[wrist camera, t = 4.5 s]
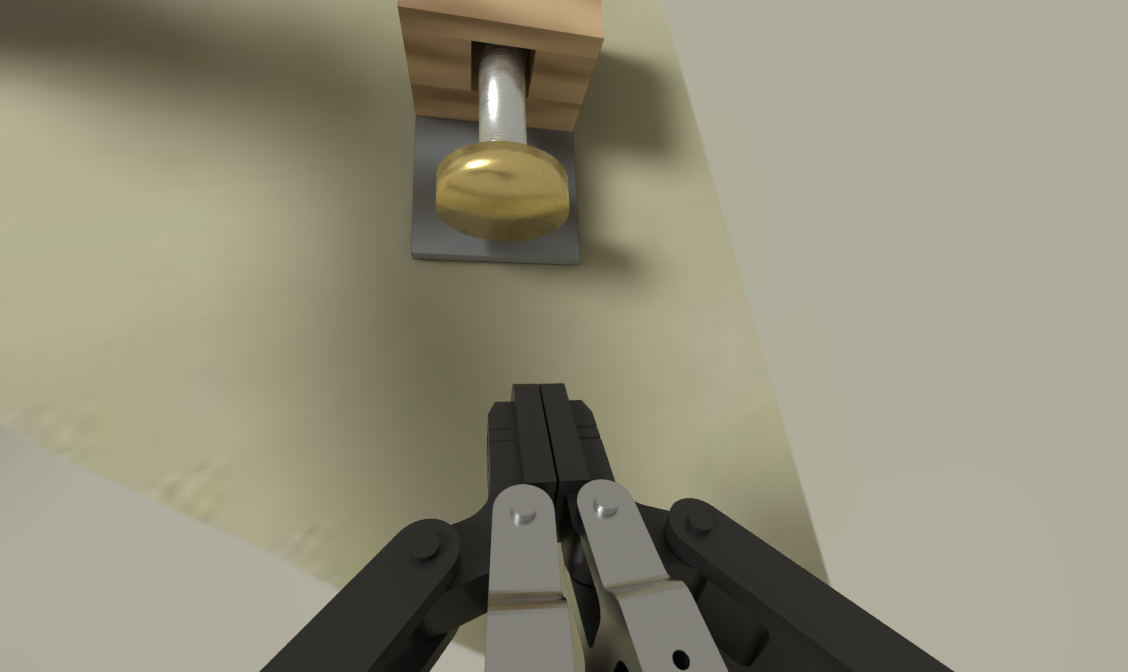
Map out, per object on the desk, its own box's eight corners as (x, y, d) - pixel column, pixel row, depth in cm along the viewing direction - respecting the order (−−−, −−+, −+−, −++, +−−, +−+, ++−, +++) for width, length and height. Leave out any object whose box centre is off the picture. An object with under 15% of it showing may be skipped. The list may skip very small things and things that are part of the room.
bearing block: (576, 265, 33) (616, 200, 24) (412, 258, 31) (388, 183, 22) (564, 40, 38) (594, -85, 29) (421, 18, 35) (404, -127, 26)
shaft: (555, 244, 31) (583, 180, 23) (440, 238, 29) (429, 168, 22) (547, 55, 35) (569, -53, 27) (444, 40, 33) (436, -79, 25)
